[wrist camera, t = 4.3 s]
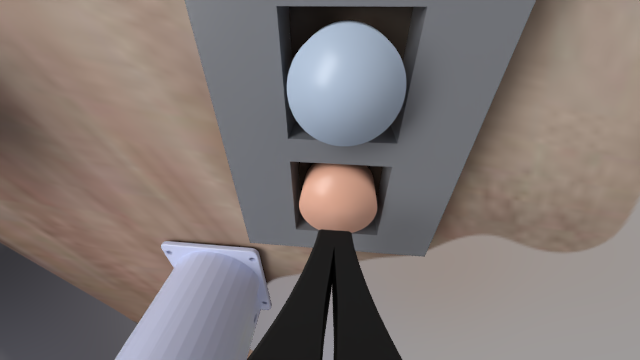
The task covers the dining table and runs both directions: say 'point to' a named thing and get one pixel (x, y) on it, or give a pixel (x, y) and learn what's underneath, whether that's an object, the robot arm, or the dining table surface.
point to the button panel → (385, 150)
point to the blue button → (346, 84)
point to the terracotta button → (338, 197)
